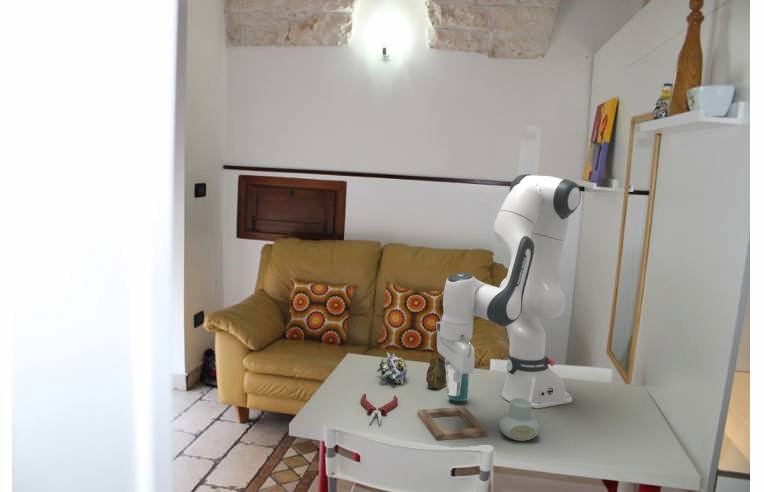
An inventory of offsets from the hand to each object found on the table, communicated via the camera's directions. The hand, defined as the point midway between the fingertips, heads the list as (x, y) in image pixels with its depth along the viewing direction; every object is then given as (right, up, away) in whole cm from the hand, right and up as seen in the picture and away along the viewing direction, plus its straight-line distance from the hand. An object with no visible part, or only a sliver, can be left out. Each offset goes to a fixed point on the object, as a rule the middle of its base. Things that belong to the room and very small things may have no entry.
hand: (453, 378), depth 175 cm
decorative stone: (-2, -10, +32) cm, 34 cm away
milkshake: (0, -5, 0) cm, 5 cm away
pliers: (-23, -13, +11) cm, 28 cm away
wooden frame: (0, -14, +2) cm, 14 cm away
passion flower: (-17, -9, +36) cm, 41 cm away
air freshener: (+18, -16, -3) cm, 24 cm away
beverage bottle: (+3, -12, +20) cm, 23 cm away
